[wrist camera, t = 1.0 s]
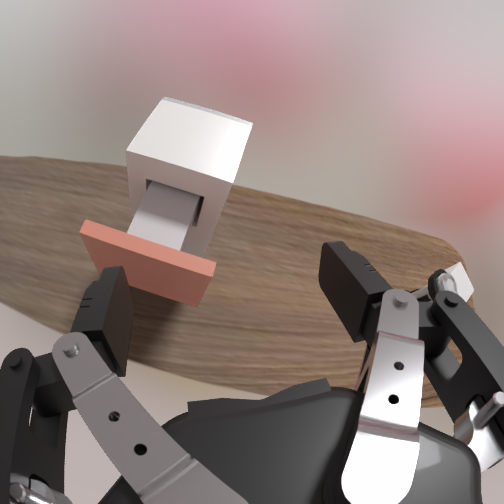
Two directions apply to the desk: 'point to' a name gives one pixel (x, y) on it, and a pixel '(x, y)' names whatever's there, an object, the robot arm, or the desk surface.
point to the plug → (155, 246)
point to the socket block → (188, 160)
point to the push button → (435, 286)
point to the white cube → (461, 281)
